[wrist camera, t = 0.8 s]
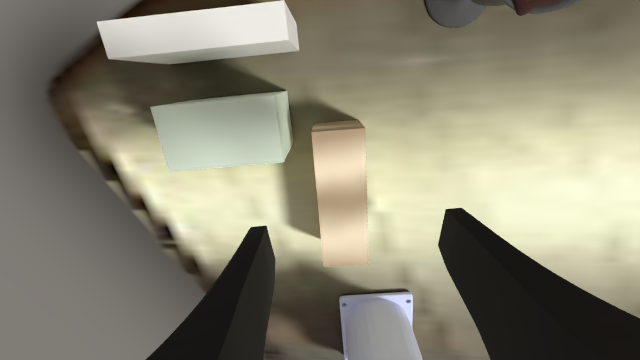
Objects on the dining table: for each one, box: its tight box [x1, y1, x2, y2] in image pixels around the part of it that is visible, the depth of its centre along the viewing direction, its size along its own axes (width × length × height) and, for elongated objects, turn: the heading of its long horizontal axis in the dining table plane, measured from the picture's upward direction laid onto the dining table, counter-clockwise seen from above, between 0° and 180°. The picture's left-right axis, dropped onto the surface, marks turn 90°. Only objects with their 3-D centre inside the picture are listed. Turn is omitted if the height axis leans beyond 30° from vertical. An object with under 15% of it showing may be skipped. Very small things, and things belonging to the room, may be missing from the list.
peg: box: [311, 120, 369, 267], centre depth 25 cm, size 12×4×5 cm, turn 5°
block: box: [150, 91, 294, 172], centre depth 22 cm, size 4×8×6 cm, turn 95°
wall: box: [97, 1, 299, 64], centre depth 20 cm, size 2×11×7 cm, turn 95°
